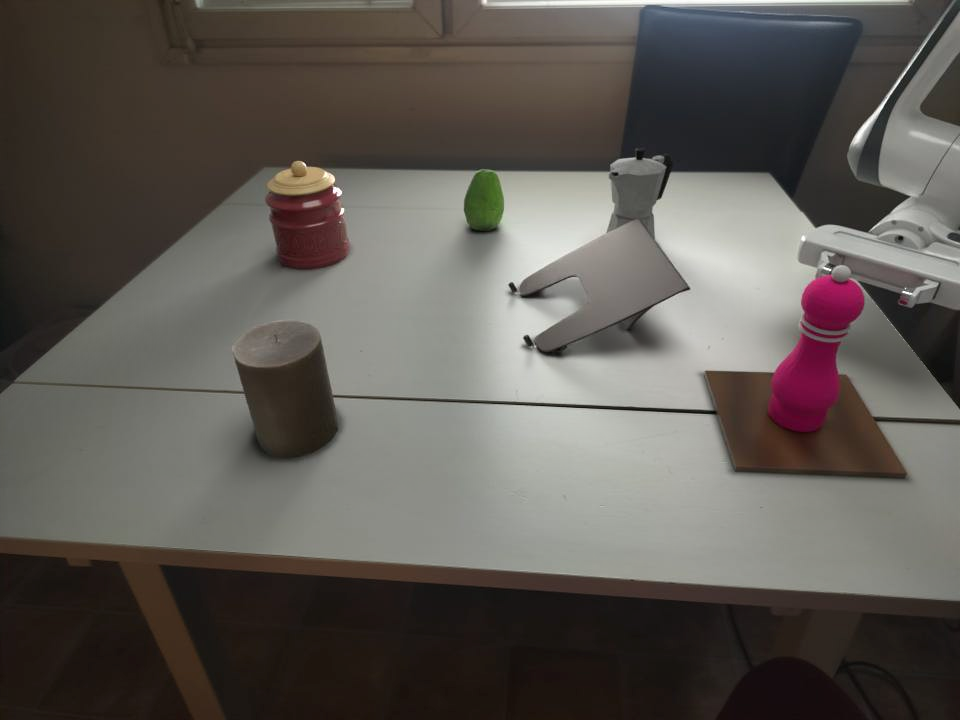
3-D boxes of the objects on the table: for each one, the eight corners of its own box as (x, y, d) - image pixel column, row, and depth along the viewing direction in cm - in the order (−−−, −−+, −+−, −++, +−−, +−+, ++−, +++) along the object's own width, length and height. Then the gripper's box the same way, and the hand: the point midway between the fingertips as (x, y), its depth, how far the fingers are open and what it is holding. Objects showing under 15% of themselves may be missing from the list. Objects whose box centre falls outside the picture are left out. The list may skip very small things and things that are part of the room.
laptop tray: (528, 314, 115) (504, 273, 109) (653, 252, 110) (634, 206, 105) (554, 397, 96) (526, 352, 91) (705, 326, 91) (685, 274, 86)
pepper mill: (830, 441, 76) (887, 287, 65) (763, 428, 78) (807, 277, 67) (825, 403, 82) (877, 255, 70) (763, 392, 84) (803, 247, 72)
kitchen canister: (300, 238, 128) (282, 147, 118) (362, 245, 125) (349, 151, 115) (265, 269, 118) (242, 171, 108) (331, 277, 115) (314, 177, 105)
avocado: (511, 233, 128) (511, 172, 121) (473, 241, 126) (471, 179, 119) (494, 218, 134) (493, 159, 127) (458, 225, 132) (455, 165, 125)
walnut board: (843, 383, 87) (846, 374, 86) (902, 483, 73) (907, 473, 72) (703, 379, 89) (704, 370, 88) (733, 476, 74) (736, 466, 73)
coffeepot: (622, 266, 116) (633, 164, 105) (584, 247, 122) (591, 149, 112) (681, 242, 123) (697, 144, 113) (643, 225, 129) (654, 132, 119)
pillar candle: (346, 449, 79) (326, 345, 71) (262, 471, 77) (231, 365, 68) (331, 402, 87) (312, 302, 78) (254, 420, 84) (225, 319, 75)
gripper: (826, 205, 91) (782, 238, 83) (1002, 248, 79) (970, 291, 71) (814, 247, 95) (771, 282, 87) (980, 295, 83) (948, 340, 75)
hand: (862, 287), depth 79 cm, fingers open, 8 cm apart
